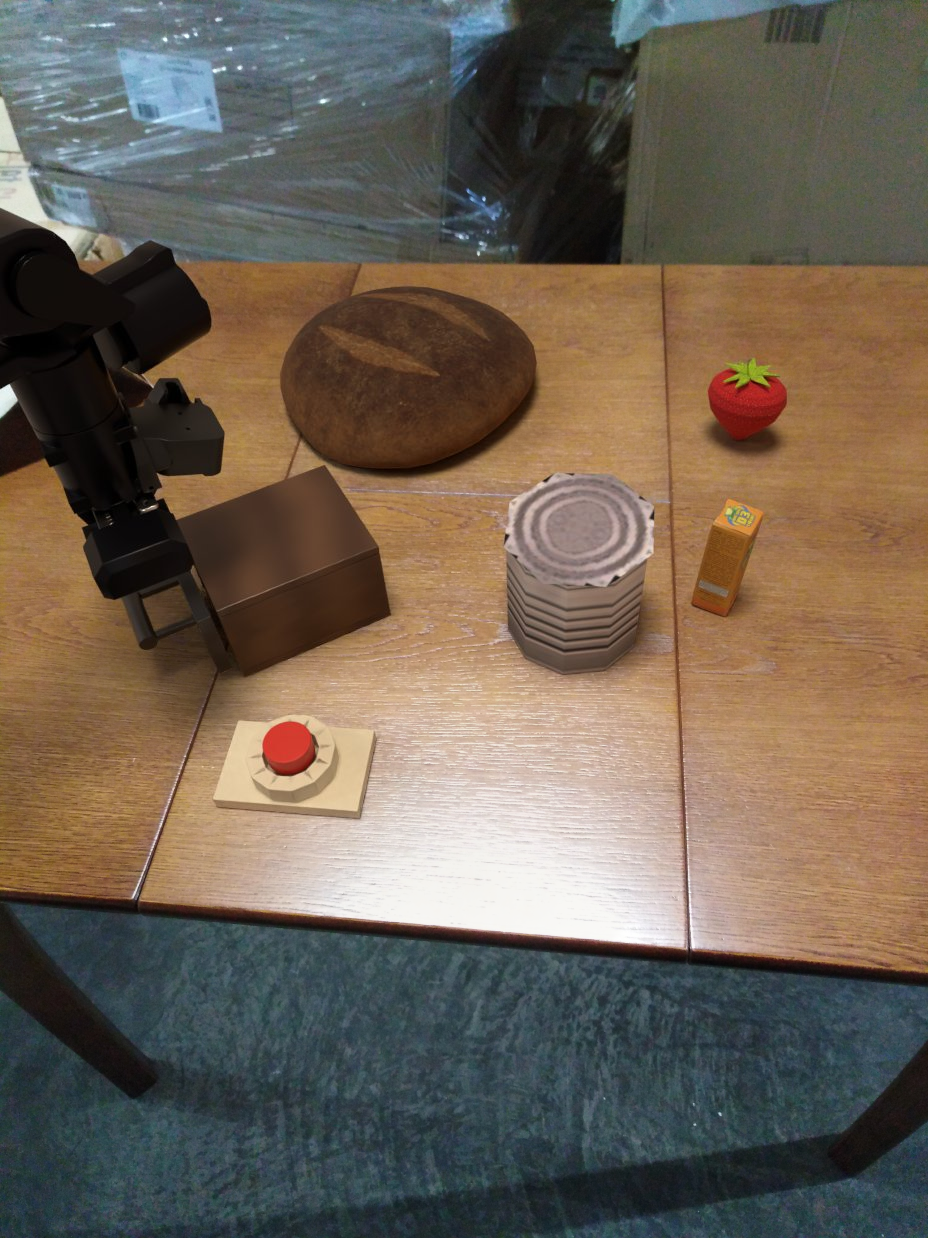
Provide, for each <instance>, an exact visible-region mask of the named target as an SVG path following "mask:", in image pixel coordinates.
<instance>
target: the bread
mask: <svg viewBox="0 0 928 1238" xmlns="http://www.w3.org/2000/svg"><path fill="white" fill-rule="evenodd" d="M537 365H538V361H537V356H536V351H535V345H534V344H533V343H532V341H531V339H530V338H529V336H528V335H527V334H526V332H525V330H523V329H522V328H521V327H520V326H519V324H517V323H516V322H515V321H514V320H512V319H511V318H510V317H509V316H507V314H506V313H504V312H503V311H500V310H499V309H497V308H495V307H493V306H492V305H490V304H488V303H485V302H481V301H479V300H477V299H475V298H471V297H467V296H463V295H460V294H457V293H453V292H450V291H446V290H442V289H437V288H433V287H427V286H414V285H406V286H389V287H382V288H376V289H372V290H367V291H362V292H360V293H357V294H354V295H350V296H348V297H344V298H343V299H341V300H339V301H336V302H334V303H332V304H330V305H329V306H327V307H325V308H324V309H323V310H321V311H319V312H318V313H317V314H315V315H314V316H313V317H312V318H311V319H309V320H308V321H307V322H306V323H305V324H303V326H302V327H301V328H300V329H299V331H298V332H297V333H296V335H295V336H294V338H293V340H292V342H291V343H290V345H289V346H288V349H287V350H286V352H285V355H284V357H283V362H282V365H281V369H280V373H279V378H280V380H279V385H280V387H279V388H280V391H281V397H282V401H283V404H284V407H285V410H286V412H287V414H288V415H289V417H290V418H291V420H292V421H293V423H294V424H295V426H296V427H297V428H298V430H299V431H300V432H301V434H302V435H303V437H304V438H305V440H306V441H307V442H308V443H309V444H310V445H311V446H312V447H313V448H315V450H316V451H318V452H319V453H320V454H321V455H323V456H325V457H326V458H329V459H330V460H333V461H335V462H337V463H338V464H342V465H348V466H353V467H357V468H366V469H382V470H383V469H411V468H417V467H420V466H425V465H431V464H434V463H436V462H437V463H438V462H439V461H442V460H445V459H446V458H449V457H451V456H454V455H456V454H458V453H460V452H462V451H464V450H467V449H468V448H470V447H472V446H474V445H475V444H477V443H480V441H481V440H483V439H484V438H485V437H486V436H488V435H489V434H490V433H493V431H494V430H496V429H497V428H498V427H499V426H500V425H501V424H502V423H504V422H505V421H506V420H507V418H508V417H509V416H510V415H512V413H514V412H515V410H516V409H518V407H519V405H521V403H522V401H523V400H524V399H525V397H526V396H527V394H528V393H529V392H530V390H531V386H532V385H533V380H534V377H535V374H536V370H537Z"/></svg>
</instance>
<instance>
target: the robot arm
mask: <svg viewBox="0 0 928 1238" xmlns="http://www.w3.org/2000/svg"><path fill="white" fill-rule="evenodd" d="M212 321H213V319H212V313H211V309H210V306H209V304H208V301H207V300H206V299H205V298H204V297H202V294H201V293H200V291H199V289H198V288H197V286H196V285H195V283H194V282H193V280H192V279H191V278H190V276H189V275H188V274H187V273H186V272H185V271H184V269H183V268H181V267H180V266H179V264H178V263H177V262H176V259H175V256H174V253H173V250H172V248H170V247H168V246H165V245H163V244H162V243H158V242H156V241H154V240H152V239H148V241H145V242H143V243H142V244H140V245H138V246H137V247H135V248H133V250H132V251H130V253H128V254H127V255H126V256H124V257H122V258H120V259H119V260H117V261H114V262H113V263H111V264H109V265H108V266H106V267H104V268H101V269H100V270H98V271H96V272H94V273H90V272H87V271H85V270H83V269H82V268H80V265H79V262H78V259H77V256H76V254H75V252H74V251H73V249H72V248H71V247H70V245H69V244H68V243H67V241H66V240H65V239H64V238H62V237H61V236H59V235H58V234H57V233H56V232H54V231H53V230H51V229H48V228H46V227H44V226H42V225H40V224H37V223H35V222H33V221H30V220H29V219H26V218H24V217H22V216H20V215H18V214H15V213H13V212H11V211H9V210H7V209H5V208H1V207H0V390H2V389H3V388H5V387H7V386H10V388H11V390H12V392H13V394H14V396H15V397H16V399H17V401H18V404H19V405H20V408H21V409H22V412H23V413H24V415H25V417H26V419H27V420H28V422H29V424H30V426H31V429H32V430H33V432H34V434H35V435H36V438H37V441H38V444H39V447H40V450H41V454H42V456H43V458H44V459H45V462H46V463H47V465H48V467H49V468H53V470H54V472H55V474H56V475H57V477H58V479H59V482H60V483H61V485H62V489H63V491H64V494H65V497H66V500H67V503H68V505H69V507H70V509H71V511H72V512H73V514H74V515H77V517H78V518H79V519H81V520H82V521H83V522H84V523H85V524H86V525H85V526H81V530H82V534H83V536H84V538H85V542H84V544H83V545H82V549H83V552H84V555H85V558H86V560H87V562H88V567H89V569H90V572H91V576H92V578H93V580H94V582H95V583H96V584H95V585H96V586H97V588H98V589H99V591H100V593H101V595H102V597H103V598H104V599H106V600H107V599H108V600H112V601H116V600H119V599H121V598H122V597H124V596H127V595H129V594H132V593H134V592H137V591H140V590H142V589H145V588H147V587H150V586H153V585H155V584H158V583H160V582H163V581H166V580H168V579H171V578H173V577H176V576H178V575H181V574H184V573H186V572H189V571H191V570H192V569H193V567H194V564H195V562H194V559H193V557H192V554H191V552H190V549H189V547H188V545H187V542H186V540H185V538H184V536H183V534H182V531H181V529H180V527H179V525H178V523H177V521H176V520H177V519H176V516H175V514H174V513H173V512H171V510H170V508H169V506H168V504H167V501H166V500H165V497H162V498H159V499H157V498H156V496H155V495H156V493H157V491H158V490H159V489H162V488H163V485H162V482H161V479H160V478H159V476H158V475H160V476H164V477H180V476H182V477H183V476H195V475H196V476H198V475H203V476H204V477H214V476H217V475H219V474H220V473H221V472H222V465H223V456H224V446H225V435H226V433H225V430H224V428H223V427H222V424H221V423H220V422H219V421H220V420H218V417H217V416H216V414H215V412H214V411H213V409H212V408H211V407H210V406H208V405H206V404H204V403H203V401H202V399H201V397H195V398H194V402H192V400H190V399H191V398H190V397H189V396H188V394H187V392H186V390H185V388H184V386H183V384H182V382H181V381H180V379H179V378H178V377H159V378H158V379H157V381H156V382H155V384H154V386H153V388H152V389H151V390H150V392H149V394H147V395H148V396H147V398H143V403H142V405H141V406H133V407H128V404H127V401H126V399H125V397H124V394H123V393H122V392H117V389H116V387H115V384H114V381H113V380H112V377H111V374H110V373H109V370H108V368H107V365H108V366H110V367H111V368H113V369H116V370H121V369H122V368H124V369H126V370H127V371H129V372H130V373H132V374H135V375H138V376H140V375H144V374H146V373H148V372H149V371H151V370H152V369H154V368H156V367H157V366H159V365H160V364H162V363H163V362H165V361H167V360H168V359H170V358H171V357H173V356H175V355H176V354H178V353H179V352H181V351H183V350H184V349H186V348H188V347H189V346H190V345H192V344H194V343H196V342H197V341H199V340H201V339H203V338H204V337H205V336H207V335H208V334H209V333H210V332H211V329H212V326H213V325H212V324H213V323H212ZM106 364H107V365H106Z"/></svg>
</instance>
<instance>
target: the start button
mask: <svg viewBox="0 0 928 1238" xmlns="http://www.w3.org/2000/svg"><path fill="white" fill-rule="evenodd" d="M262 748H263V752H264V754H265V757H266V759H267V761H268V764H269V766H270V767H271V768H272V769H273V770H274V771H276V772H278V773H280V774H285V775H291V774H296V773H299V772H301V771H303V770H304V769H306V768H307V767H308V766H309V765H310V764H311V762H312V760H313V758H314V756H315V745H314V742H313V739H312V736H311V734H310V731H309V730H308V728H307V727H306V726H304V725H303V724H301V723H298V722H294V721H287V722H282V723H279V724H277V725H275V726H274V727H272V728H271V729H270V730H269V731H268V732H267V734H266V735H265V737H264V739H263V743H262Z"/></svg>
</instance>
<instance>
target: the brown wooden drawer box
mask: <svg viewBox="0 0 928 1238" xmlns="http://www.w3.org/2000/svg"><path fill="white" fill-rule="evenodd" d="M176 521H177V523H178V525H179V527H180V529H181V531H182V534H183V536H184V538H185V540H186V542H187V545H188V547H189V549H190V552H191V554H192V557H193V559H194V562H195V564H194V565H193V567H194V569H195V572H196V574H197V577H198V579H199V581H200V583H201V587H202V588H203V590H204V593H205V595H206V597H207V599H208V601H209V604H210V606H211V608H212V610H213V613H214V615H215V617H216V619H217V621H218V624H219V626H220V628H221V631H222V632H223V635H224V637H225V639H226V641H227V644H228V646H229V648H230V650H231V652H232V654H233V656H234V657H233V658H234V659H235V661H236V663H237V665H238V668H239V670H240V672H241V674H242V676H243V678H247V677H248V676H251V675H253V674H255V673H257V672H260V671H262V670H264V669H267V668H269V667H272V666H275V665H276V664H279V663H281V662H284V661H286V660H288V659H290V658H293V657H295V656H298V655H300V654H303V653H304V652H308V651H309V650H312V649H315V648H317V647H318V646H321V645H323V644H325V643H326V644H327V642H330V641H333V640H336V639H337V638H340V637H342V636H344V635H347V634H349V633H352V632H353V631H356V630H358V629H360V628H363V627H366V626H367V625H370V624H372V623H375V622H377V621H380V620H382V619H384V618H387V617H389V616H391V615H392V612H391V608H390V601H389V597H388V591H387V585H386V579H385V575H384V570H383V563H382V559H381V558H382V557H381V552H380V547H379V544H377V541H376V540H375V539H374V537H373V536H372V534H371V532H370V531H369V530H368V528H367V526H366V525H365V523H364V521H362V519H361V517H360V516H359V514H358V513H357V511H356V510H355V508H354V506H353V505H352V504H351V502H350V501H349V499H348V498H347V496H346V494H345V493H344V492H343V490H342V488H341V487H340V485H339V484H338V482H337V481H336V480H335V478H334V476H333V474H332V473H331V472H330V471H329V469H328V467H327V466H326V464H323V465H321V466H317V467H314V468H312V469H309V470H306V471H304V472H301V473H298V474H296V475H293V476H291V477H287V478H285V479H283V480H279V481H277V482H274V483H272V484H269V485H267V486H264V487H261V488H258V489H255V490H253V491H250V492H247V493H246V494H242V495H239V496H237V497H235V498H234V497H233V498H231V499H228V500H226V501H223V502H221V503H218V504H214V505H212V506H210V507H206V508H204V509H202V510H199V511H197V512H194V513H191V514H188V515H185V516H183V517H181V518H178V519H176Z"/></svg>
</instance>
